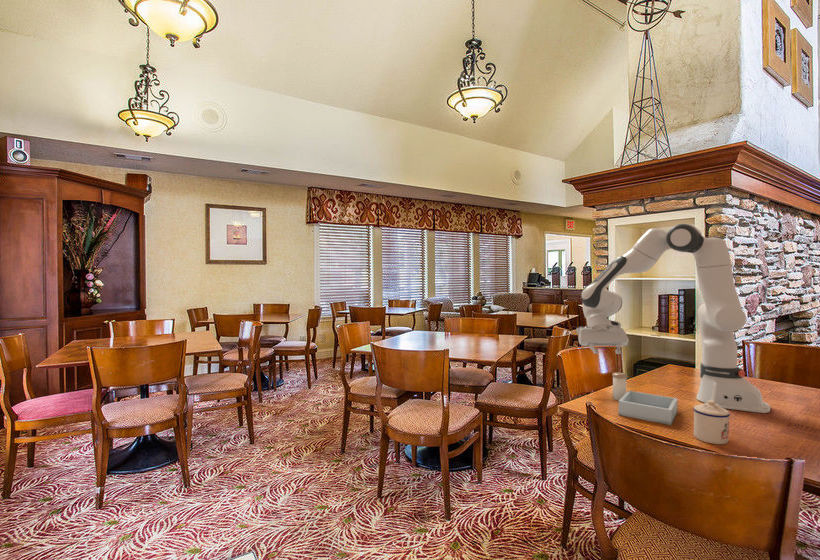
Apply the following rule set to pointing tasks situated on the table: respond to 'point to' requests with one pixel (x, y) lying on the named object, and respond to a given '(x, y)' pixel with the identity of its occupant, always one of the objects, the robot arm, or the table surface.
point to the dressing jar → (619, 385)
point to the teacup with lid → (711, 423)
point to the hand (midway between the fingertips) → (607, 353)
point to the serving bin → (648, 407)
